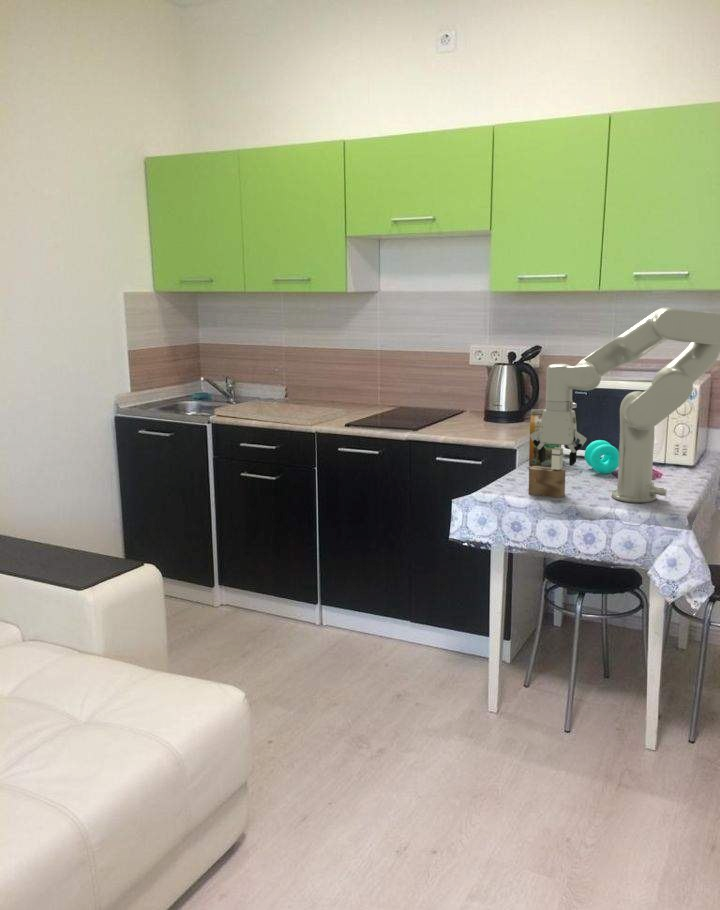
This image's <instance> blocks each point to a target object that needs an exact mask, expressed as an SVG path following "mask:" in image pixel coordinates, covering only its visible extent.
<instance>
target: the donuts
mask: <svg viewBox="0 0 720 910" xmlns="http://www.w3.org/2000/svg"><path fill="white" fill-rule="evenodd" d="M602 456H603V457H602ZM601 457H602V458H601ZM584 460H585V462H586V464H587V465H588V466H590V467H591V468H592V469H593V470H594V471H595V472H596V473H598V474H602V475H603V474H604V475H608V474H611V473H613V472H615V471H616V470H617V469H618V464H619V449H617V448H616V447H615V446H613V445H612V444H611V443H610V442H608V441H606V440H603V439H598V440H597V439H596V440H594V441H591V442H590V443H589V444H588V445H587V446H586V448H585V451H584Z"/></svg>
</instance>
